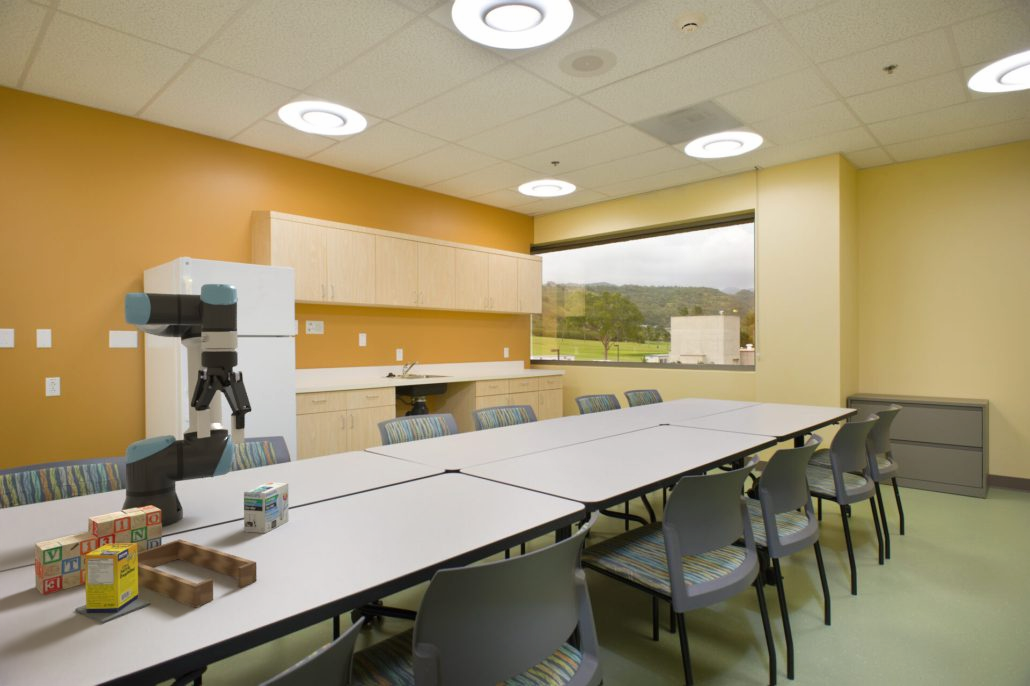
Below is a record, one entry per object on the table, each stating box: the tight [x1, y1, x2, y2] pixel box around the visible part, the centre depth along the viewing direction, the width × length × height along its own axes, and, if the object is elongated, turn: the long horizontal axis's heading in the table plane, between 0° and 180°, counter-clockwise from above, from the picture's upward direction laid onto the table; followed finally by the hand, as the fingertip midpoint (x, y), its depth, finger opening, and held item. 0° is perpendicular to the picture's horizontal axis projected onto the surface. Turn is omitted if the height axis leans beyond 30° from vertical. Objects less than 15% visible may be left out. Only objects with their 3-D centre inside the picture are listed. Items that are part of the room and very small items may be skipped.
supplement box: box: [85, 543, 139, 613], centre depth 105 cm, size 6×6×11 cm
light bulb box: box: [243, 481, 290, 534], centre depth 150 cm, size 11×7×11 cm, turn 168°
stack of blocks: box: [34, 505, 163, 596], centre depth 120 cm, size 21×6×12 cm, turn 141°
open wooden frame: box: [137, 539, 258, 608], centre depth 117 cm, size 28×13×4 cm, turn 61°
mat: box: [75, 597, 151, 625], centre depth 105 cm, size 10×8×1 cm
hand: (220, 440), depth 130 cm, fingers open, 13 cm apart
